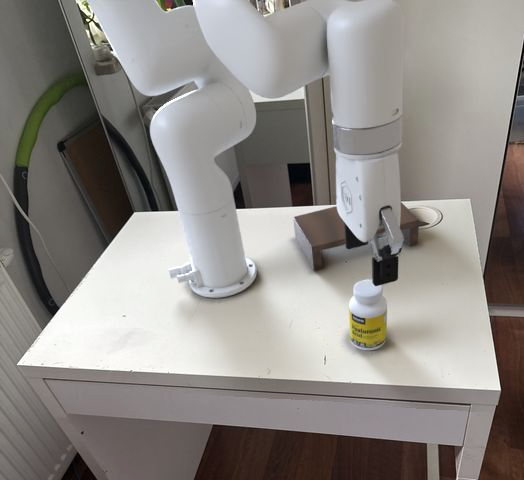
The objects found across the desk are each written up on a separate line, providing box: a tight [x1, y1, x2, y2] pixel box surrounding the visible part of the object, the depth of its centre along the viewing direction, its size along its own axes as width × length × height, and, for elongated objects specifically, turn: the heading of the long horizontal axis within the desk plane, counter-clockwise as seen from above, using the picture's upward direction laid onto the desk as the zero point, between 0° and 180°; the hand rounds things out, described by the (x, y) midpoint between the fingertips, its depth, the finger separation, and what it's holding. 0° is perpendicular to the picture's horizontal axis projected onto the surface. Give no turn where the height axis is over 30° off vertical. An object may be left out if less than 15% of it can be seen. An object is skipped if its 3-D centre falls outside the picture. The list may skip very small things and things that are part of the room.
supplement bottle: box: [348, 279, 388, 351], centre depth 76 cm, size 5×5×10 cm
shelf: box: [292, 202, 420, 272], centre depth 98 cm, size 20×12×5 cm, turn 103°
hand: (370, 263), depth 69 cm, fingers open, 9 cm apart
